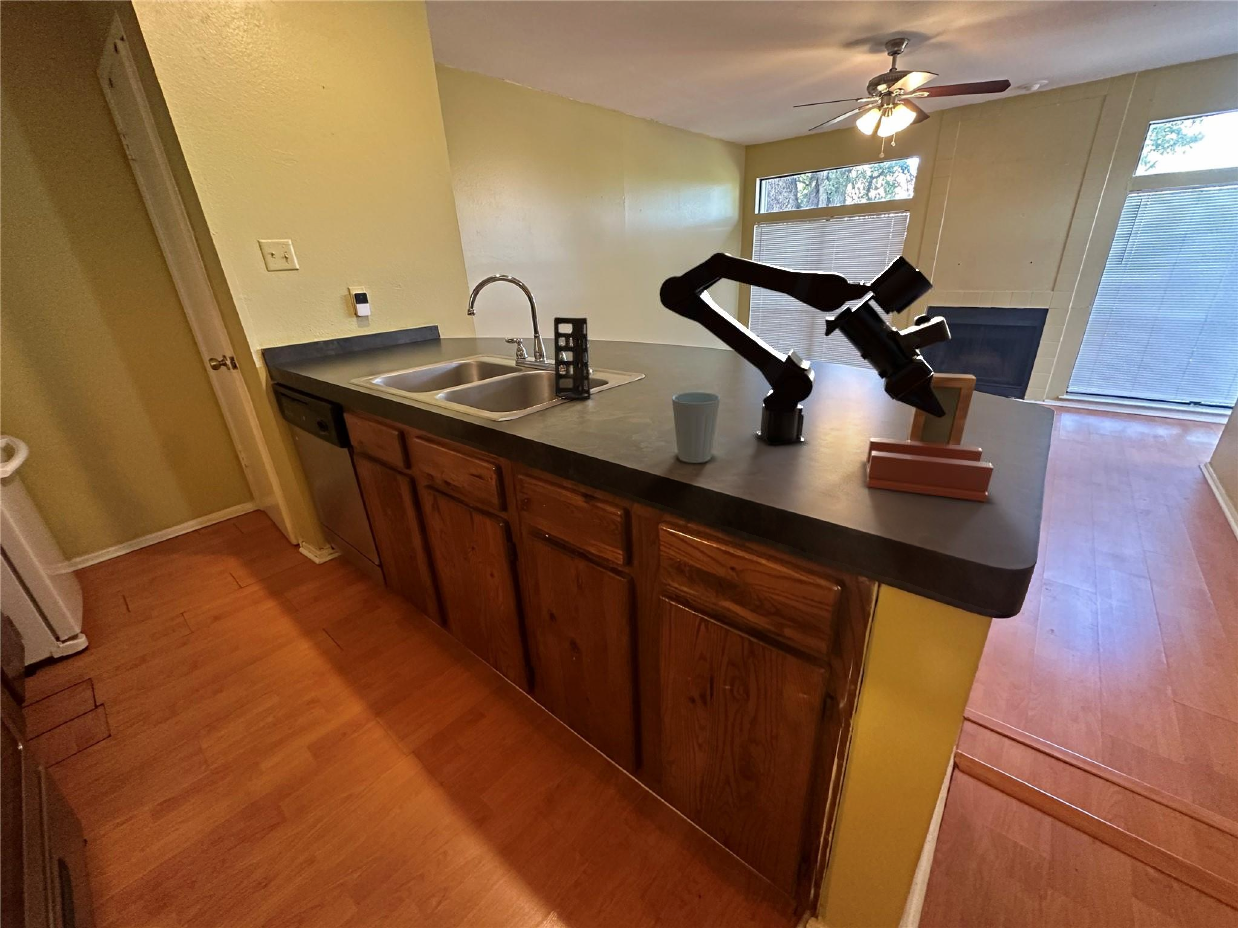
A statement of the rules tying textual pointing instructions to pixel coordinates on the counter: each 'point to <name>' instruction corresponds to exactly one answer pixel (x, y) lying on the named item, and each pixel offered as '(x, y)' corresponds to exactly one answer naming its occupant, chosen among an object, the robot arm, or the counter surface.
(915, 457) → the slot stand
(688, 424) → the cup
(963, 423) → the frame
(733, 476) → the counter surface
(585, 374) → the holder
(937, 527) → the counter surface
